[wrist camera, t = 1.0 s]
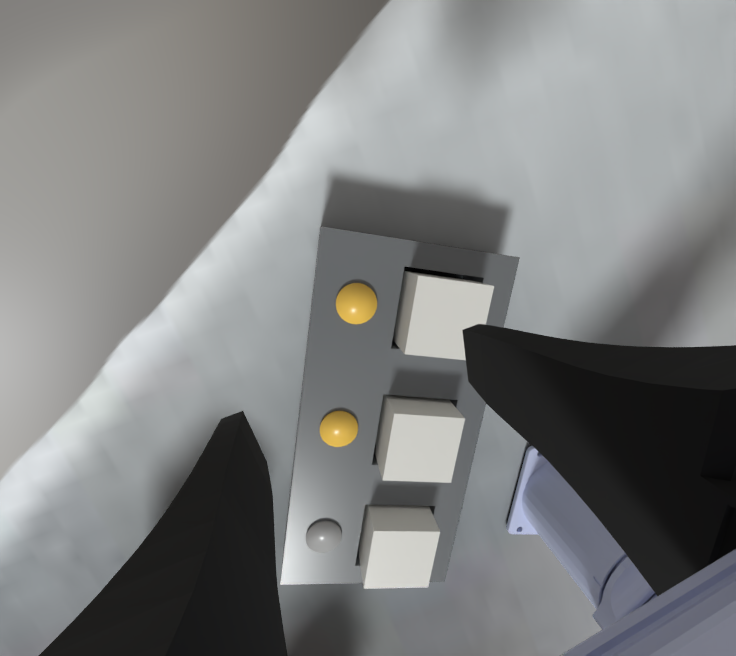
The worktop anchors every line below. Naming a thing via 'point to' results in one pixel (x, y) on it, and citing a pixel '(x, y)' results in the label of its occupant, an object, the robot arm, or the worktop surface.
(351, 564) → the button panel
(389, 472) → the button
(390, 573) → the button
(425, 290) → the button
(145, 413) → the worktop surface
